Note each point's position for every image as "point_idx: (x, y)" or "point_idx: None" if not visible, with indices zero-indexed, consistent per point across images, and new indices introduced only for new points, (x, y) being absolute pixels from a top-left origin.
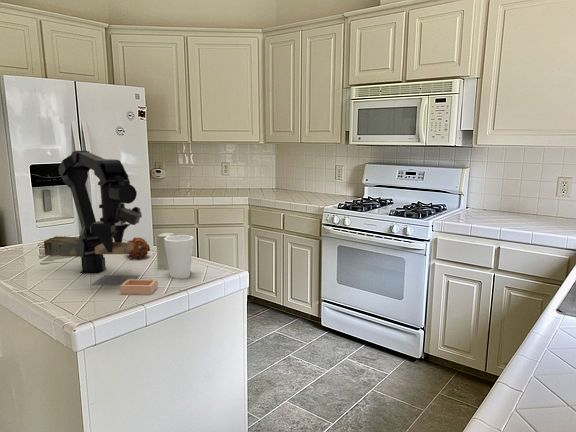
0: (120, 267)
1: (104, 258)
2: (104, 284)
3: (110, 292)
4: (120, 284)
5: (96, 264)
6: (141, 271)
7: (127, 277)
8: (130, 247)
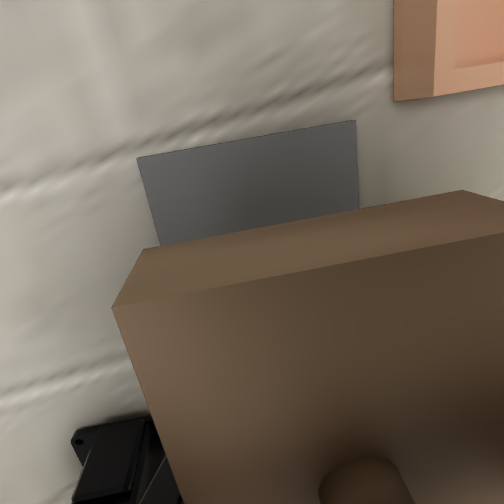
0: (10, 385)
1: (81, 490)
2: None
3: (453, 177)
4: (344, 187)
5: (152, 473)
6: (24, 217)
7: (203, 223)
8: (276, 247)
